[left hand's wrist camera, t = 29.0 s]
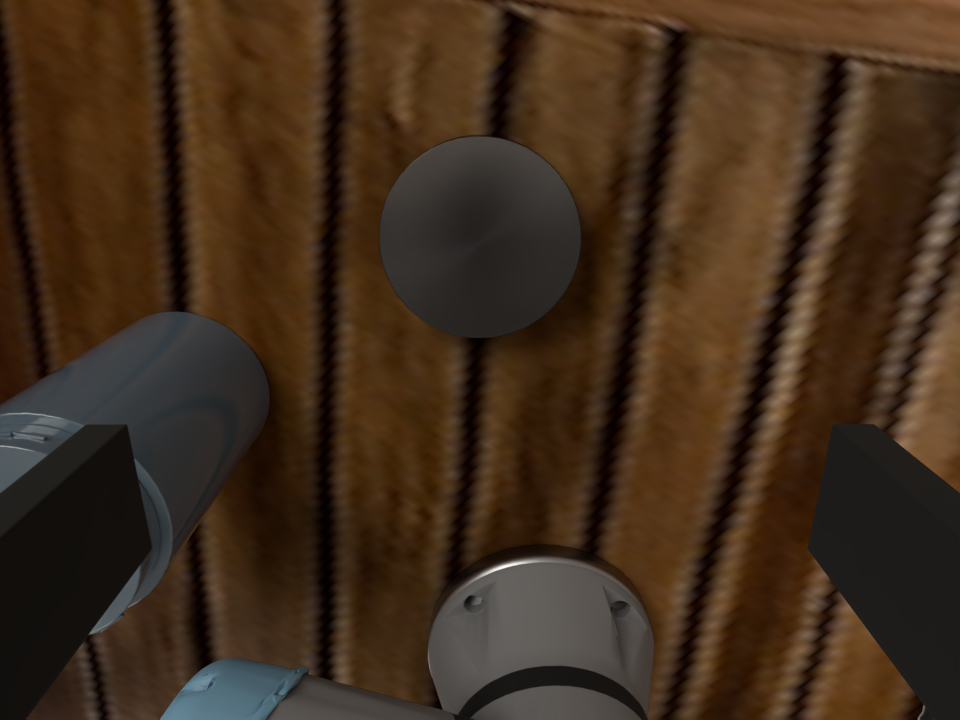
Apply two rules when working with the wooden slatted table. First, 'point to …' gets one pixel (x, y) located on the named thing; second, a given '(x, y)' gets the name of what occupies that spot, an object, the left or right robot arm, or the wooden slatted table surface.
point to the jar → (150, 423)
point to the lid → (480, 236)
